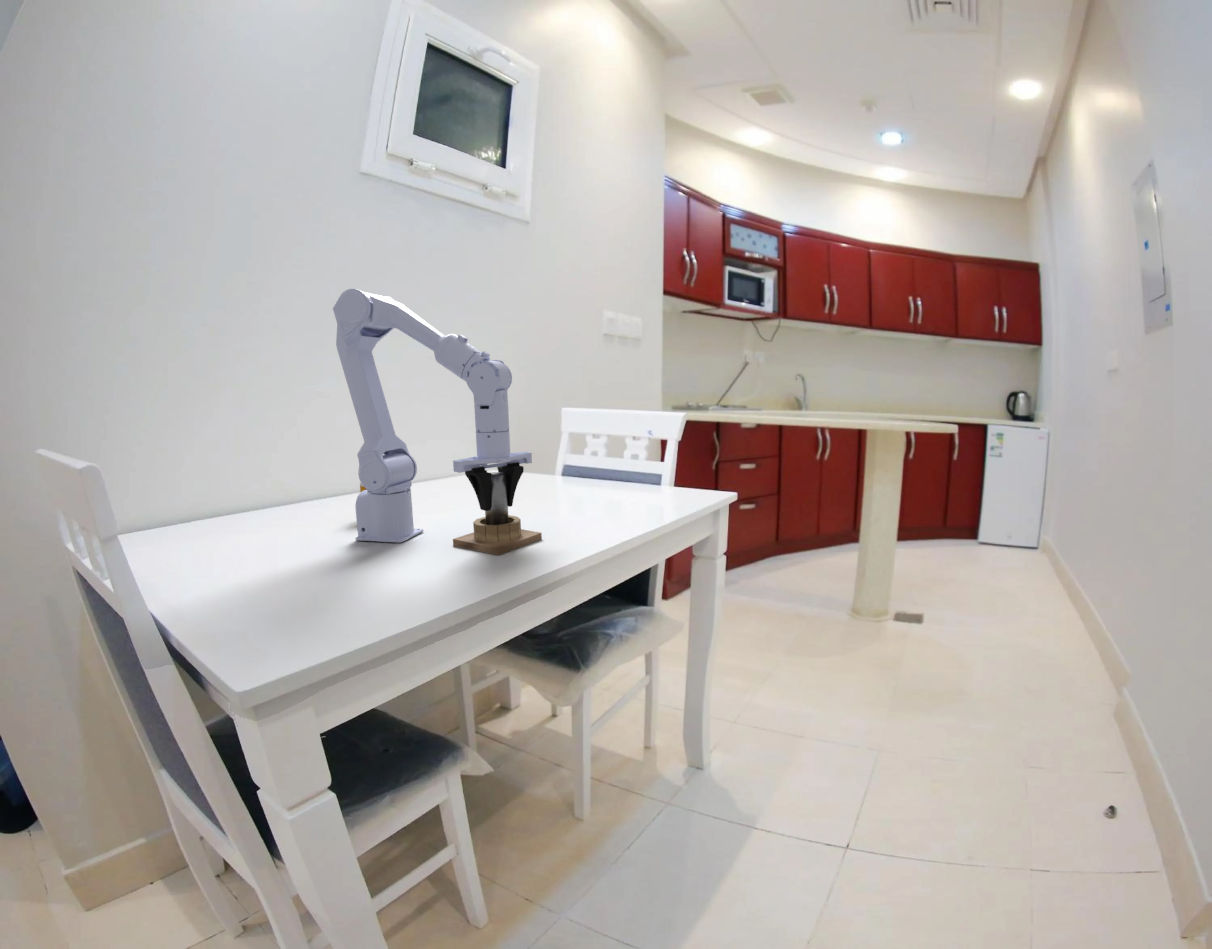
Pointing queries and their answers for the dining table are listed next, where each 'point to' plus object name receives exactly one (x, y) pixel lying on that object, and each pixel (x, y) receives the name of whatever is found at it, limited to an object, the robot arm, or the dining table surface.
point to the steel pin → (498, 500)
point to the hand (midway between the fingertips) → (496, 507)
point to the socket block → (497, 537)
